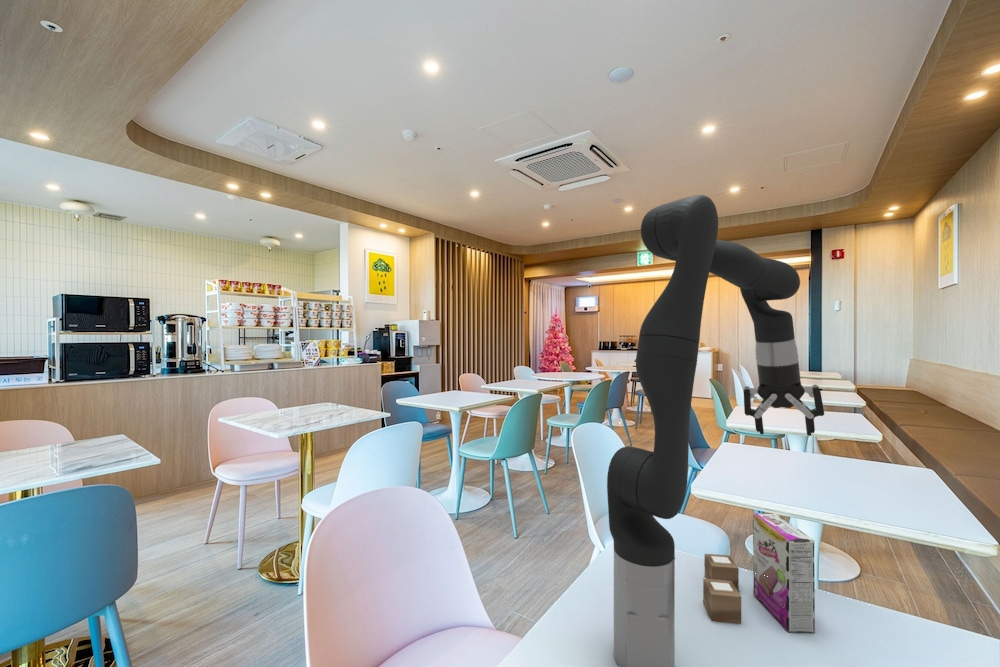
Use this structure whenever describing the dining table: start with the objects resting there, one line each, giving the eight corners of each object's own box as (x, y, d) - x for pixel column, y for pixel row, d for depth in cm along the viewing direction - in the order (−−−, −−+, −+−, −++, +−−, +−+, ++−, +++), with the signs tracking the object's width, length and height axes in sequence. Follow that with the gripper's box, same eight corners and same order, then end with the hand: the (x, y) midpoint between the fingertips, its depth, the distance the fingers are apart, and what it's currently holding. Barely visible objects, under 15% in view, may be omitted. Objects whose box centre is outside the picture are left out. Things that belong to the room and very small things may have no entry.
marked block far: (738, 593, 87) (738, 567, 87) (711, 590, 88) (711, 565, 88) (729, 579, 92) (729, 554, 92) (704, 576, 93) (704, 552, 93)
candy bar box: (751, 594, 87) (751, 512, 86) (776, 595, 86) (776, 512, 86) (787, 634, 75) (787, 539, 75) (816, 634, 75) (816, 539, 75)
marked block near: (741, 624, 78) (741, 595, 78) (711, 621, 79) (711, 593, 79) (731, 607, 83) (731, 579, 83) (703, 604, 84) (703, 577, 84)
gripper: (738, 366, 93) (746, 439, 95) (820, 362, 86) (828, 441, 87) (739, 358, 100) (747, 427, 101) (816, 354, 92) (823, 428, 94)
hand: (785, 433), depth 94 cm, fingers open, 8 cm apart
